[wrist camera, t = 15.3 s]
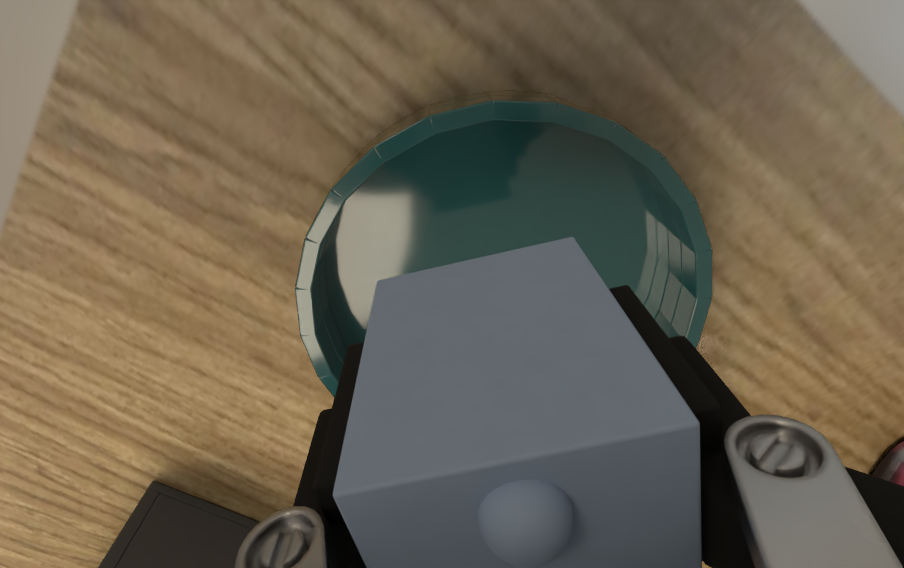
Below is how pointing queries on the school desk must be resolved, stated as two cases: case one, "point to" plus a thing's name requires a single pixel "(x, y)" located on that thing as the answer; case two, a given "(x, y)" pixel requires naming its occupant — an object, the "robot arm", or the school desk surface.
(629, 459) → the block
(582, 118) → the bowl
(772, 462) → the robot arm
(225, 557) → the bin
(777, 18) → the school desk surface
